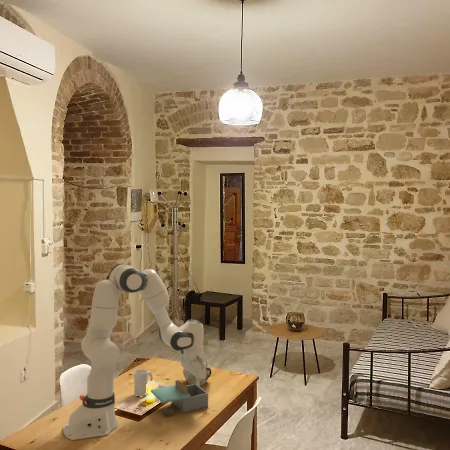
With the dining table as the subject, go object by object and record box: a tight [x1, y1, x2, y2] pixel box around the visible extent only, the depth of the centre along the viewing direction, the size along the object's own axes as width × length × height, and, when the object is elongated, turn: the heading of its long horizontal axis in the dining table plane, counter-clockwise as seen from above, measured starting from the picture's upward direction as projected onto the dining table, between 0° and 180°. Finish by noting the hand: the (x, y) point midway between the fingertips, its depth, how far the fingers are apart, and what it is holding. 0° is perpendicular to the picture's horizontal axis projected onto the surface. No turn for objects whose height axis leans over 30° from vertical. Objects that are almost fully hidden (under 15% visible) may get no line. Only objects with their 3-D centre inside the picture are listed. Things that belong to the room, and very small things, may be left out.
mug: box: [133, 368, 154, 397], centre depth 242 cm, size 10×7×12 cm, turn 130°
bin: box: [171, 384, 209, 415], centre depth 231 cm, size 13×13×7 cm
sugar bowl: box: [182, 361, 212, 387], centre depth 257 cm, size 20×15×15 cm
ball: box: [164, 406, 174, 417], centre depth 220 cm, size 4×4×4 cm
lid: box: [150, 379, 191, 404], centre depth 225 cm, size 14×14×4 cm
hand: (192, 381), depth 231 cm, fingers open, 8 cm apart
